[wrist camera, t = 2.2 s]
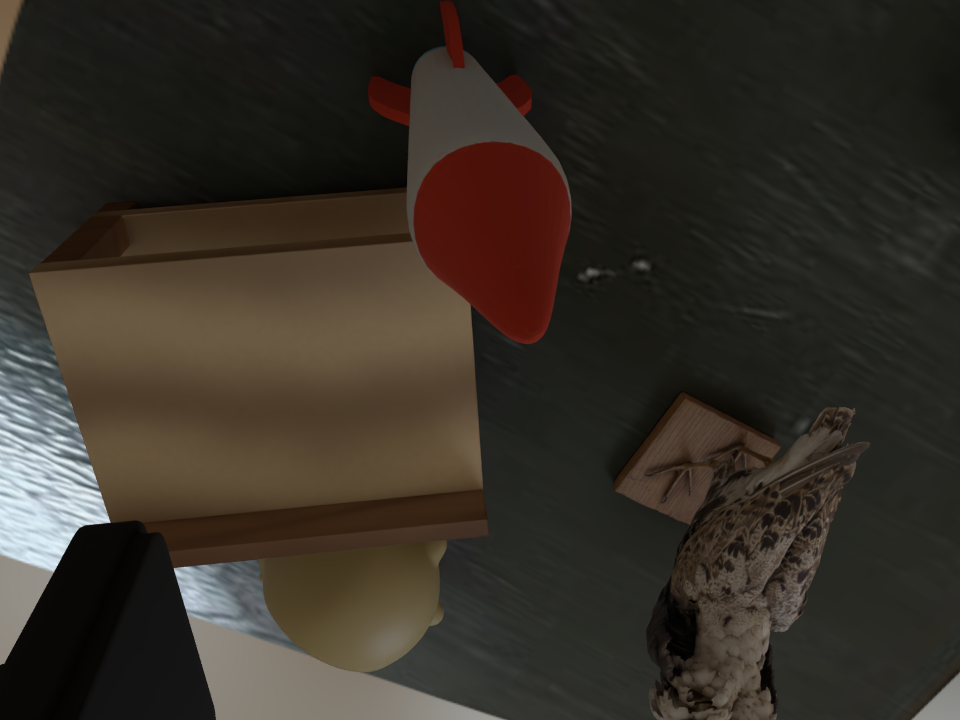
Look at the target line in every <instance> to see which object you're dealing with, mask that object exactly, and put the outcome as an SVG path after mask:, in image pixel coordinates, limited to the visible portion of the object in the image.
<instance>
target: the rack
mask: <svg viewBox="0 0 960 720" xmlns="http://www.w3.org/2000/svg"><path fill="white" fill-rule="evenodd" d="M29 276H30V279H31V282H32V285H33V288H34V291H35V294H36V297H37V300H38V303H39V306H40V309H41V312H42V315H43V318H44V321H45V324H46V327H47V330H48V333H49V336H50V339H51V342H52V346H53V349H54V352H55V355H56V358H57V361H58V364H59V367H60V370H61V373H62V376H63V379H64V382H65V385H66V388H67V391H68V394H69V397H70V400H71V403H72V406H73V409H74V412H75V415H76V419H77V422H78V425H79V428H80V431H81V434H82V437H83V440H84V443H85V446H86V449H87V452H88V455H89V458H90V461H91V464H92V467H93V470H94V473H95V476H96V479H97V482H98V485H99V488H100V492H101V495H102V498H103V501H104V504H105V507H106V510H107V513H108V516H109V519H110V522H111V523H114V522H124V521H134V520H137V521H140V522H142V523H143V525H144V526H145V527H146V530H147V532H148V533H153V532H159V533H161V534H162V535H163V537H164V539H165V542H166V544H167V548H168V551H169V555H170V558H171V561H172V565H173V568H178V567H188V566H197V565H207V564H217V563H227V562H237V561H246V560H256V559H266V558H276V557H286V556H295V555H305V554H315V553H325V552H335V551H344V550H354V549H364V548H374V547H383V546H393V545H403V544H413V543H423V542H432V541H442V540H452V539H462V538H472V537H481V536H488V535H489V531H488V518H487V512H486V505H485V498H484V492H483V481H482V466H481V451H480V437H479V422H478V407H477V392H476V378H475V363H474V348H473V334H472V319H471V304H470V303H469V302H467V301H466V300H465V299H464V298H463V297H462V296H460V295H459V294H458V293H457V292H455V291H454V290H453V289H452V288H450V287H449V286H448V285H446V284H445V283H444V282H442V281H441V280H440V279H438V278H437V277H436V276H434V274H433V273H432V272H431V271H430V270H429V269H428V268H427V267H426V265H425V264H424V263H423V262H422V260H421V258H420V256H419V254H418V253H417V251H416V249H415V247H414V244H413V240H412V237H411V234H410V231H409V225H408V217H407V188H395V189H383V190H370V191H358V192H345V193H333V194H320V195H308V196H295V197H283V198H270V199H258V200H245V201H232V202H220V203H207V204H195V205H182V206H170V207H157V208H145V209H138V207H137V203H136V202H123V203H111V204H105V205H104V206H103V207H102V208H101V209H100V210H99V211H97V212H96V213H95V214H94V215H93V216H92V217H91V218H90V219H89V220H88V221H86V222H85V223H84V224H83V225H82V226H81V227H80V228H79V229H78V230H77V231H75V232H74V233H73V234H72V235H71V236H70V237H69V238H68V239H67V240H66V241H64V242H63V243H62V244H61V245H60V246H59V247H58V248H57V249H56V250H55V251H53V252H52V253H51V254H50V255H49V256H48V257H47V258H46V259H45V260H44V261H42V262H41V263H40V264H39V265H38V266H36V267H35V268H34V269H33V270H32V271H31V272H30V273H29Z"/></svg>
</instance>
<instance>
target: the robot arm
mask: <svg viewBox="0 0 960 720" xmlns="http://www.w3.org/2000/svg"><path fill="white" fill-rule="evenodd" d="M0 720H216V717H215V709H214V705H213V702H212V698H211V694H210V691H209V688H208V684H207V681H206V677H205V674H204V671H203V668H202V664H201V660H200V657H199V654H198V650H197V647H196V643H195V640H194V636H193V633H192V630H191V627H190V623H189V619H188V616H187V613H186V609H185V606H184V602H183V599H182V596H181V592H180V589H179V585H178V582H177V579H176V575H175V572H174V568H173V565H172V561H171V558H170V555H169V551H168V548H167V544H166V542H165V539H164V537H163V535H162V534H161V533H159V532H153V533H148V532H147V530H146V527H145V526H144V525H143V523H142V522H140V521H137V520H134V521H124V522H114V523H104V524H94V525H85V526H83V527H81V528H79V529H78V531H77V532H76V533H75V535H74V536H73V538H72V540H71V542H70V544H69V546H68V547H67V549H66V551H65V553H64V555H63V557H62V558H61V560H60V562H59V564H58V566H57V568H56V570H55V571H54V573H53V575H52V577H51V579H50V581H49V583H48V584H47V586H46V588H45V590H44V592H43V593H42V595H41V597H40V599H39V601H38V603H37V605H36V606H35V608H34V610H33V612H32V614H31V616H30V617H29V619H28V621H27V623H26V625H25V627H24V629H23V630H22V632H21V634H20V636H19V638H18V640H17V641H16V643H15V645H14V647H13V649H12V651H11V652H10V654H9V656H8V658H7V660H6V662H5V664H1V665H0Z"/></svg>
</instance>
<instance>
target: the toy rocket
mask: <svg viewBox="0 0 960 720" xmlns="http://www.w3.org/2000/svg"><path fill="white" fill-rule="evenodd" d="M440 11H441V16H442V21H443V27H444V34H445V41H446V46H441V47H436V48H433V49H430V50H429V51H427V52H425V53H424V54H423V55H422V56H420V58H419V59H418V60H417V62H416V64H415V66H414V68H413V72H412V76H411V90H410V88H407V87H404V86H401V85H398V84H395V83H392V82H389V81H388V80H386V79H384V78H382V77H378V76H372V77H371V80H370V83H369V85H368V95H369V104H370V105H371V107H372V108H373V109H374V111H376V112H377V113H379V114H381V115H383V116H384V117H386V118H388V119H391V120H393V121H396V122H399V123H401V124H404V125H407V126H409V149H408V174H407V217H408V225H409V231H410V234H411V237H412V240H413V244H414V247H415V249H416V251H417V253H418V254H419V256H420V258H421V260H422V262H423V263H424V264H425V265H426V267H427V268H428V269H429V270H430V271H431V272H432V273H433V274H434V276H436V277H437V278H438V279H440V280H441V281H442V282H444V283H445V284H446V285H448V286H449V287H450V288H452V289H453V290H454V291H455V292H457V293H458V294H459V295H460V296H462V297H463V298H464V299H465V300H466V301H467V302H469V303H470V304H471V305H472V306H473V307H474V308H475V309H476V310H477V311H478V312H479V313H481V314H482V315H483V316H484V317H485V318H486V319H487V320H488V321H489V322H490V323H491V324H492V325H493V326H495V327H496V328H497V329H498V330H499V331H501V332H502V333H503V334H505V335H506V336H507V337H509V338H510V339H512V340H514V341H517V342H520V343H525V344H531V343H534V342H537V341H538V340H539V339H541V337H542V336H543V335H544V333H545V332H546V330H547V327H548V324H549V321H550V318H551V314H552V310H553V305H554V299H555V293H556V287H557V281H558V275H559V270H560V265H561V261H562V257H563V253H564V249H565V245H566V242H567V238H568V235H569V230H570V222H571V196H570V191H569V186H568V182H567V178H566V176H565V174H564V171H563V169H562V167H561V165H560V162H559V161H558V159H557V158H556V156H555V155H554V154H553V152H552V151H551V150H550V148H549V147H548V145H547V144H546V143H545V142H544V140H543V139H542V138H541V137H540V135H539V134H538V133H537V132H536V131H535V129H534V128H533V127H532V126H531V125H530V124H529V122H528V121H527V120H526V119H525V118H524V115H525V114H526V113H527V112H528V111H529V110H530V109H531V102H532V91H531V89H530V87H529V86H528V84H527V83H526V82H524V81H523V80H522V79H521V78H520V77H519V76H518V75H510V76H508V77H507V78H506V79H505V80H503V81H502V82H500V83H497V84H496V83H495V82H494V81H493V80H492V79H491V78H490V76H489V75H488V74H487V73H486V72H485V70H484V69H483V68H482V67H481V66H480V65H479V63H478V62H477V61H476V60H475V59H474V57H473V56H472V55H470V54H469V53H468V52H467V51H464V50H463V45H462V37H461V31H460V24H459V18H458V15H457V11H456V8H455V6H454V4H453V3H452V2H450V1H440Z"/></svg>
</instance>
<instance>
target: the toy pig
mask: <svg viewBox="0 0 960 720" xmlns="http://www.w3.org/2000/svg"><path fill="white" fill-rule="evenodd" d="M446 547H447V541H446V540H442V541H432V542H423V543H413V544H403V545H393V546H383V547H374V548H364V549H354V550H344V551H335V552H325V553H315V554H305V555H295V556H286V557H276V558H266V559H258V562H259V565H260V568H261V570H262V572H261V573H260V575H259V577H260V580H262V581H263V594H264V599H265V602H266V605H267V608H268V610H269V612H270V614H271V615H272V617H273V619H274V620H275V622H276V623H277V624H278V626H279V627H280V628H281V630H282V631H283V632H284V633H285V634H286V635H287V636H288V637H289V638H290V639H291V640H292V641H293V642H294V643H295V644H296V645H297V646H299V647H300V648H301V649H302V650H304V651H305V652H306V653H308V654H309V655H311V656H313V657H314V658H316V659H318V660H320V661H322V662H324V663H326V664H329V665H331V666H334V667H337V668H340V669H344V670H348V671H354V672H371V671H376V670H379V669H381V668H384V667H386V666H388V665H390V664H392V663H393V662H395V661H397V660H398V659H400V658H401V657H402V656H404V655H405V654H406V653H407V652H409V651H410V650H411V649H412V648H413V647H414V646H415V645H416V644H417V643H418V641H419V640H420V639H421V638H422V636H423V635H424V633H425V632H426V630H427V629H428V627H429V626H433V625H436V624H438V623H439V622H440V621H441V620H442V618H443V615H444V609H443V606H442V604H441V603H440V602H439V601H438V598H439V590H440V574H439V566H438V563H439V561H440V560H441V558H442V556H443V555H444V553H445V550H446Z"/></svg>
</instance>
